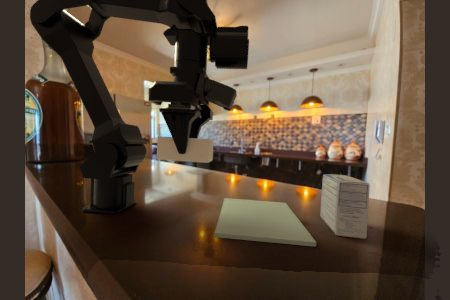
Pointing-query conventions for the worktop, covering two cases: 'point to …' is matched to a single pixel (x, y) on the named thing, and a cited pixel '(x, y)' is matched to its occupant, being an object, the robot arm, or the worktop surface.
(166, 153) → the block
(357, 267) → the worktop surface
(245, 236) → the mat
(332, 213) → the medicine box
